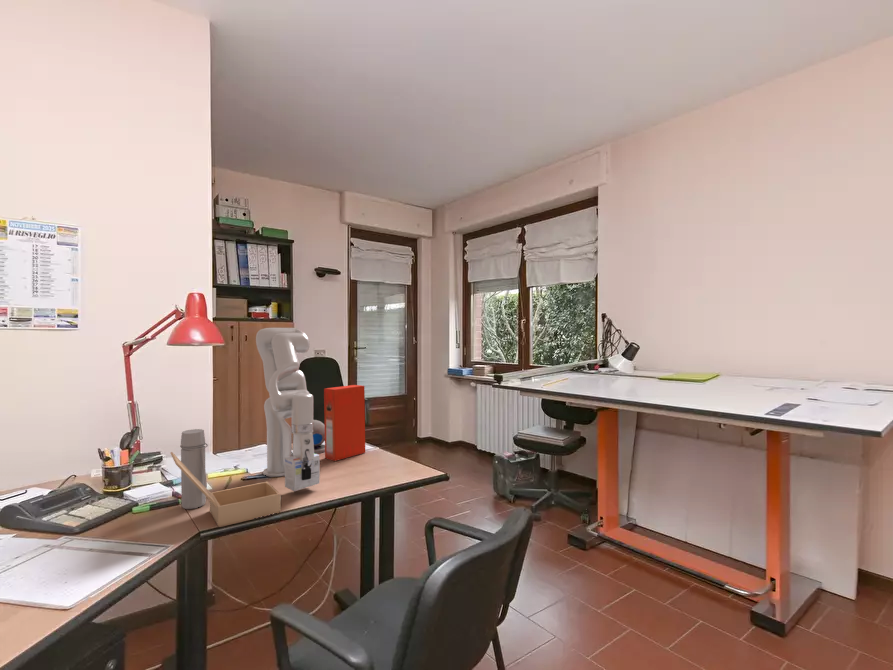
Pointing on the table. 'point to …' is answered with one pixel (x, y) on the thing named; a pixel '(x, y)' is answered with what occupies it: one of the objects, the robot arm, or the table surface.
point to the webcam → (318, 436)
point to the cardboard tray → (244, 503)
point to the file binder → (344, 421)
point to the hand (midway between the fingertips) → (302, 475)
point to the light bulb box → (295, 473)
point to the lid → (193, 479)
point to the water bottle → (193, 467)
